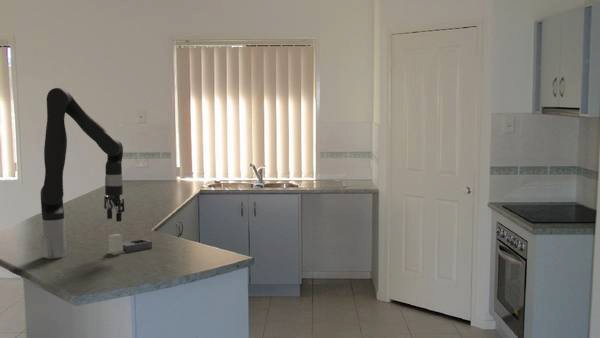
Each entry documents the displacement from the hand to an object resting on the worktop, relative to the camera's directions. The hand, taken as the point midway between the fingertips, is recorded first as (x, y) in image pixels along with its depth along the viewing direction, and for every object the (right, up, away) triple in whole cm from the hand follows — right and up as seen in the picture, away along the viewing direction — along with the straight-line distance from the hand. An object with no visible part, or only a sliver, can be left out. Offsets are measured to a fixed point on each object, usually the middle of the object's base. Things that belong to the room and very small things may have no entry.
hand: (114, 220), depth 294 cm
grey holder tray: (+7, -15, +9) cm, 19 cm away
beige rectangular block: (0, -15, +2) cm, 15 cm away
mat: (0, -15, +2) cm, 16 cm away
